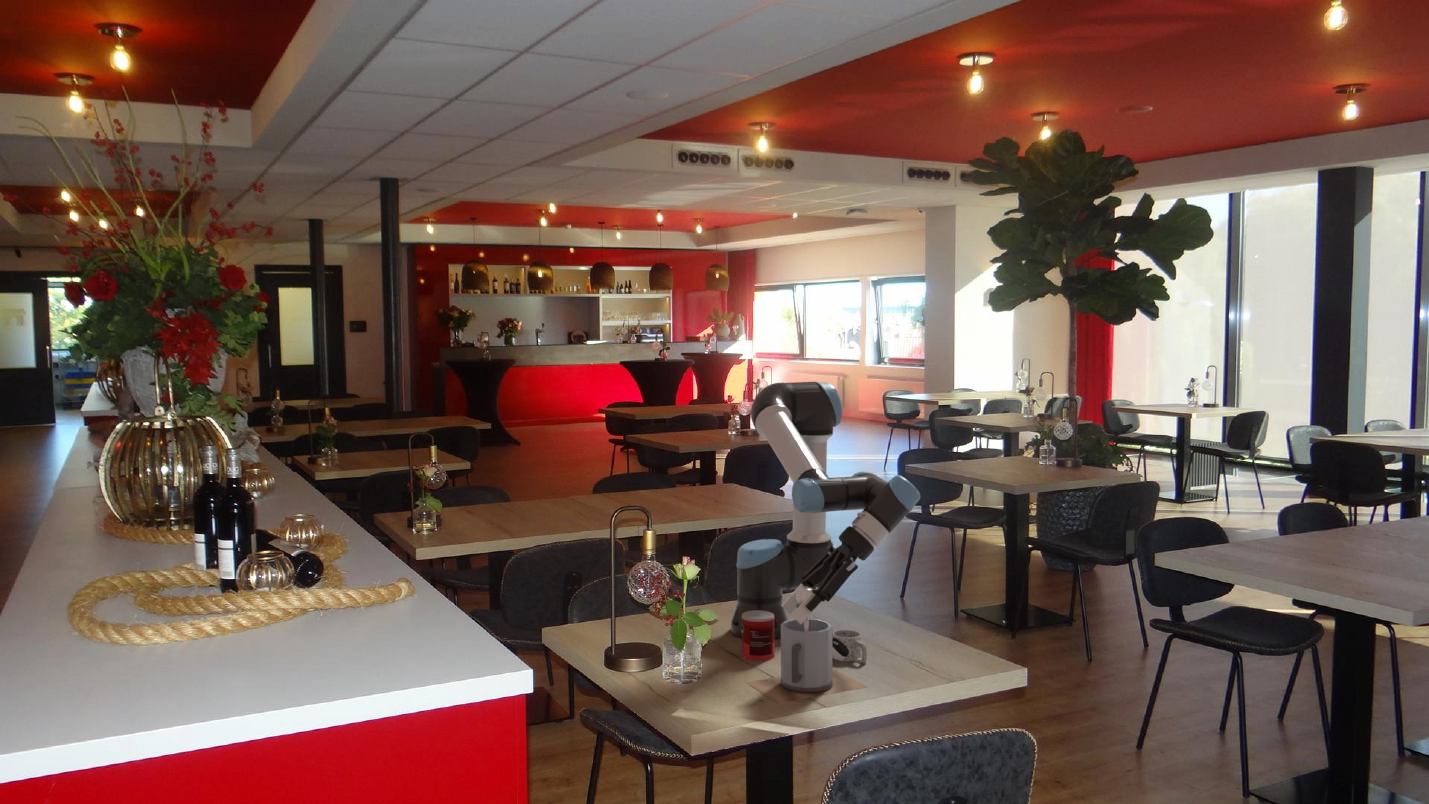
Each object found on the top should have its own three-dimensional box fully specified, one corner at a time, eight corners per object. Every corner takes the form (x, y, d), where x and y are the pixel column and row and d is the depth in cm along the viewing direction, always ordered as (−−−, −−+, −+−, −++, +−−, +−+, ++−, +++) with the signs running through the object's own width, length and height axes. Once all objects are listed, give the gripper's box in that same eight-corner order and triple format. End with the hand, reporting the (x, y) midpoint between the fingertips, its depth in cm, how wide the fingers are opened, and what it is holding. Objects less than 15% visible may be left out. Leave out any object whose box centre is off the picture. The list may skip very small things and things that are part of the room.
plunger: (784, 676, 213) (783, 591, 212) (795, 665, 220) (795, 583, 219) (818, 680, 210) (817, 594, 209) (828, 669, 217) (828, 586, 216)
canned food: (756, 653, 242) (756, 608, 241) (781, 660, 236) (781, 614, 235) (734, 660, 236) (734, 614, 236) (759, 668, 230) (759, 621, 230)
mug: (826, 660, 235) (826, 633, 235) (847, 655, 239) (847, 628, 239) (855, 672, 227) (855, 643, 227) (876, 666, 231) (876, 638, 230)
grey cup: (769, 693, 210) (768, 632, 210) (790, 673, 223) (790, 616, 222) (820, 700, 206) (820, 638, 205) (839, 679, 218) (839, 621, 217)
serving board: (777, 709, 204) (777, 703, 204) (746, 688, 217) (746, 682, 217) (867, 692, 214) (867, 686, 214) (832, 672, 226) (832, 667, 226)
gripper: (836, 516, 225) (766, 591, 223) (867, 533, 205) (791, 615, 203) (858, 539, 227) (789, 613, 224) (891, 557, 207) (816, 639, 205)
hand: (790, 614), depth 214 cm, fingers open, 7 cm apart
